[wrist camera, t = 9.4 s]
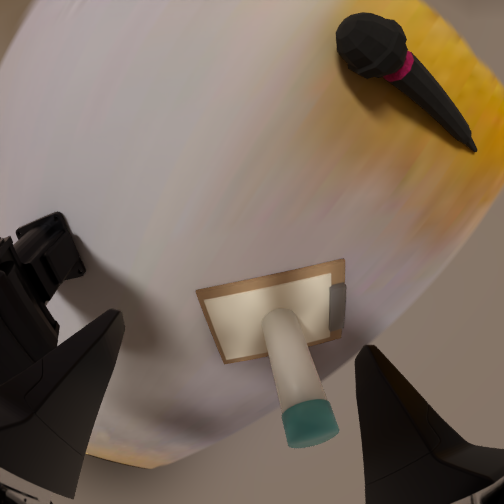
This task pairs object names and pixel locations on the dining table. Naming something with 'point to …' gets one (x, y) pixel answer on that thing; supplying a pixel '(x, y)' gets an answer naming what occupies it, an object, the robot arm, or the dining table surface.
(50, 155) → the dining table surface
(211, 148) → the dining table surface
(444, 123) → the microphone
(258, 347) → the clipboard
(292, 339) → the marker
